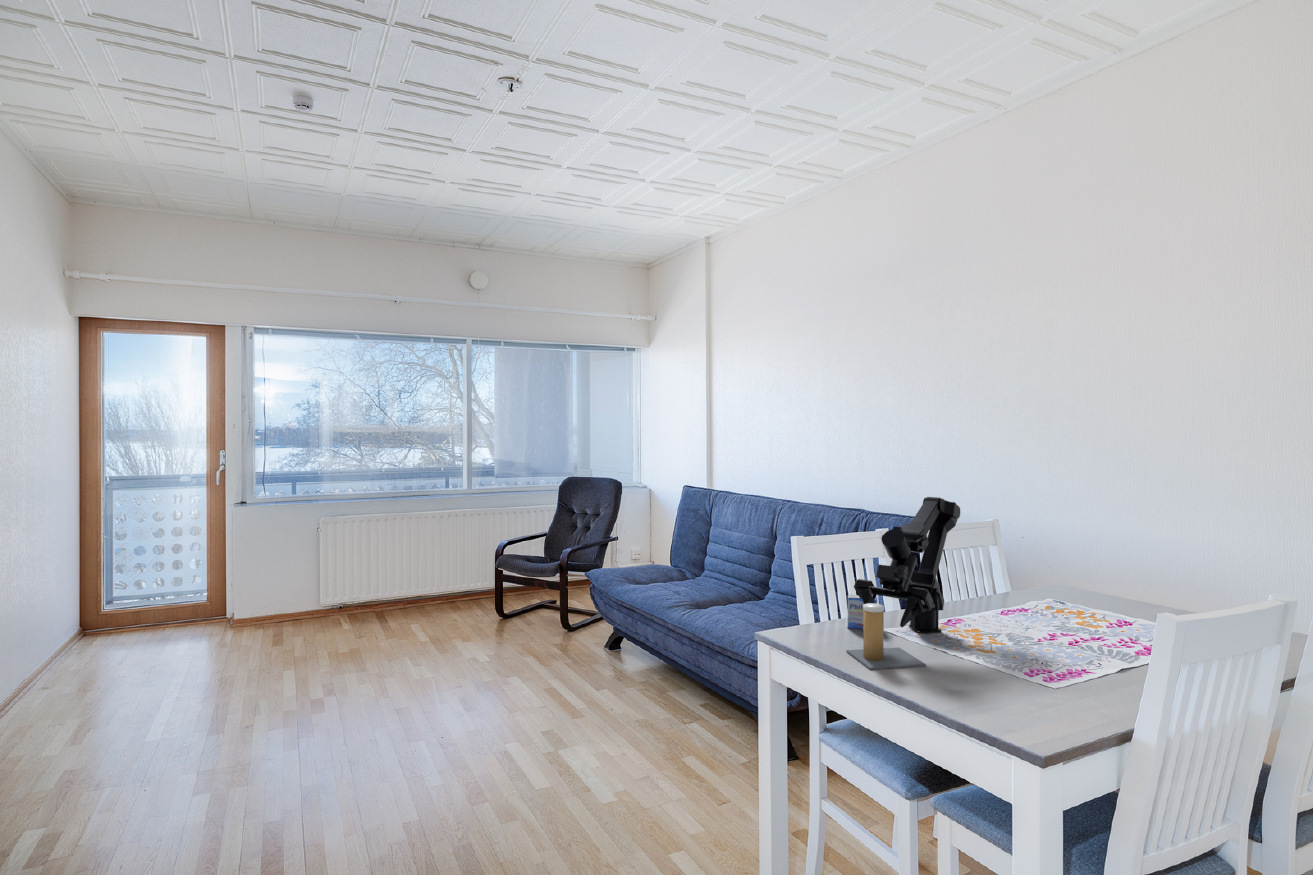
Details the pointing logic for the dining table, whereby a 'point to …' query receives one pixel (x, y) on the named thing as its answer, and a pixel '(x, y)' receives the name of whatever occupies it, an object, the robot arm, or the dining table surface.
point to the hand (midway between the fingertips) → (882, 623)
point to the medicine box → (856, 612)
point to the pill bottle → (873, 631)
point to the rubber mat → (888, 659)
